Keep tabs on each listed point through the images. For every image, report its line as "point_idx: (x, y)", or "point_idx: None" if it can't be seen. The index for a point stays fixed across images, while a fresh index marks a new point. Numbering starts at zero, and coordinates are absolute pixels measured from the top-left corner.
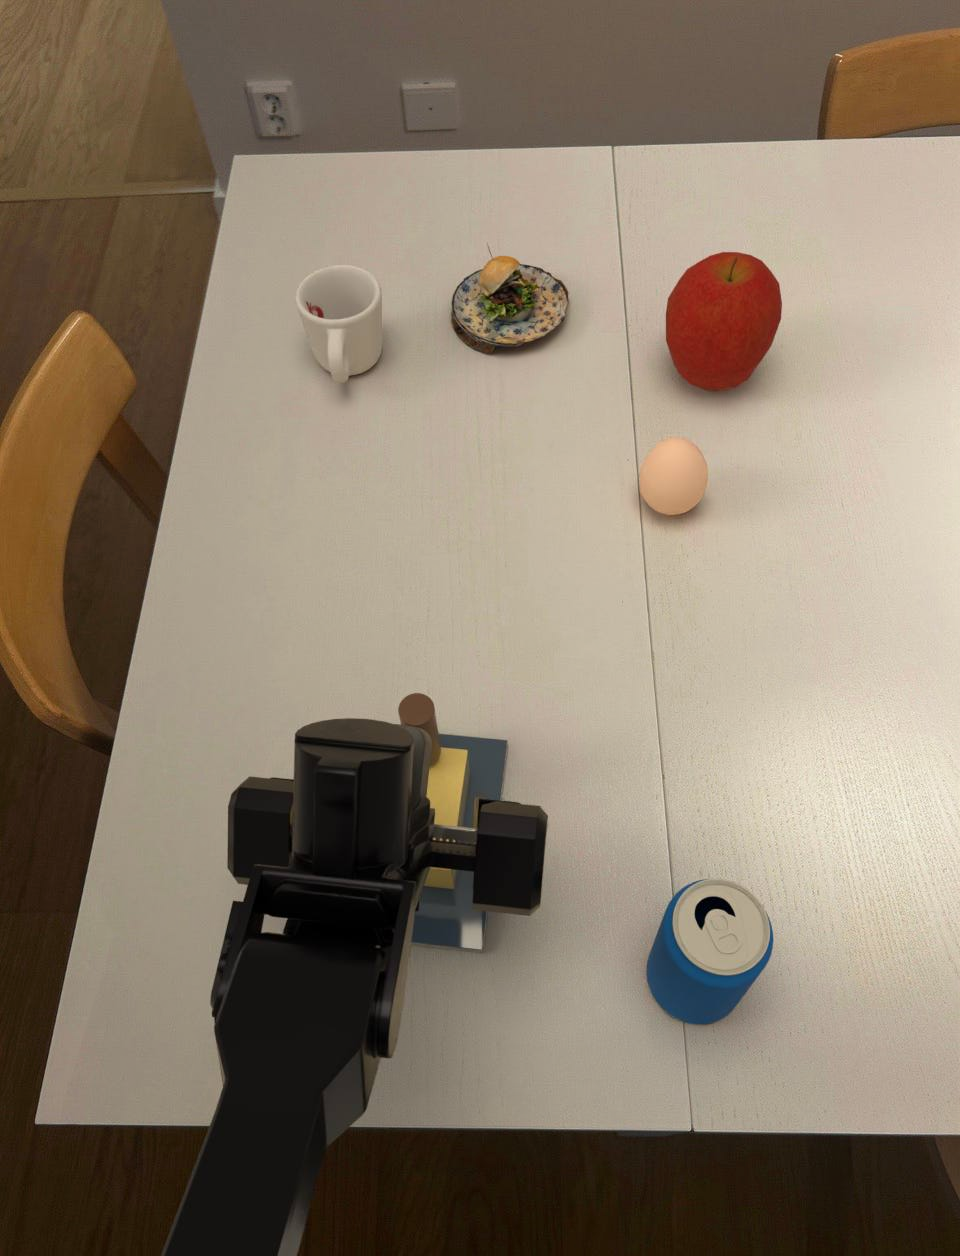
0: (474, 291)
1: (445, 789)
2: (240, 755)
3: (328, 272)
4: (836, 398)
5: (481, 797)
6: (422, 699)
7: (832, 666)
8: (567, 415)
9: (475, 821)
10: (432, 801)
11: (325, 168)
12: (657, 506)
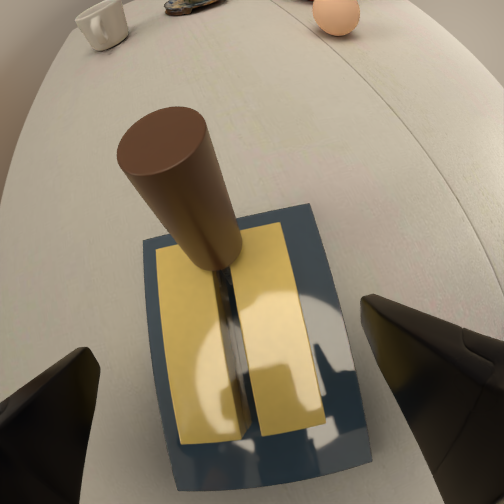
0: (175, 3)
1: (269, 294)
2: (46, 308)
3: (93, 7)
4: (381, 5)
5: (388, 305)
6: (170, 115)
7: (483, 106)
8: (246, 16)
9: (456, 403)
10: (255, 321)
11: None
12: (335, 24)
